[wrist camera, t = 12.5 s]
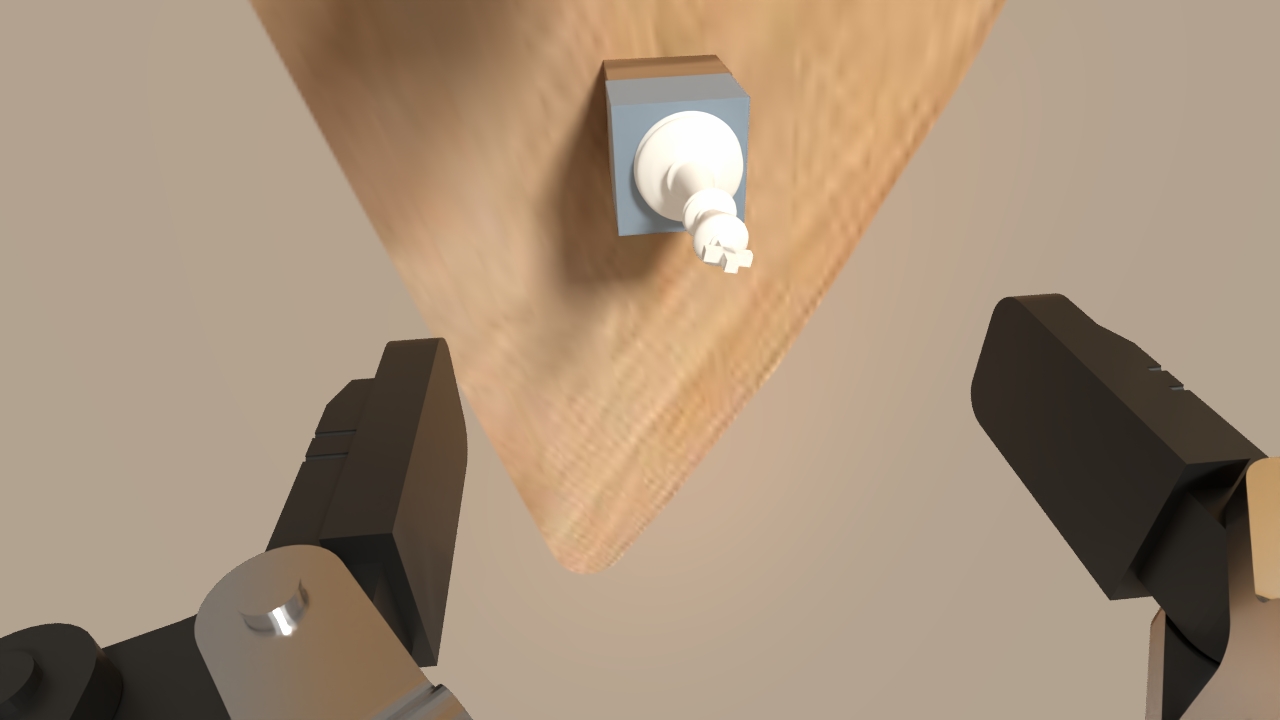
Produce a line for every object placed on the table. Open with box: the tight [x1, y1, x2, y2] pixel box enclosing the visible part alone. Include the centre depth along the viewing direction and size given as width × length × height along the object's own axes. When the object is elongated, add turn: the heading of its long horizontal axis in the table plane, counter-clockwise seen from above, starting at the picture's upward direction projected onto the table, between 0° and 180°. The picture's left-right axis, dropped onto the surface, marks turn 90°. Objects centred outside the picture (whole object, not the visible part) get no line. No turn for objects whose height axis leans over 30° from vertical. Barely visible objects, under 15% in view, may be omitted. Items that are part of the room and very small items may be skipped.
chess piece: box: [634, 111, 753, 273], centre depth 28 cm, size 5×5×10 cm
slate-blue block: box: [605, 73, 750, 236], centre depth 34 cm, size 6×6×4 cm
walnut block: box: [603, 55, 732, 185], centre depth 38 cm, size 6×6×4 cm
